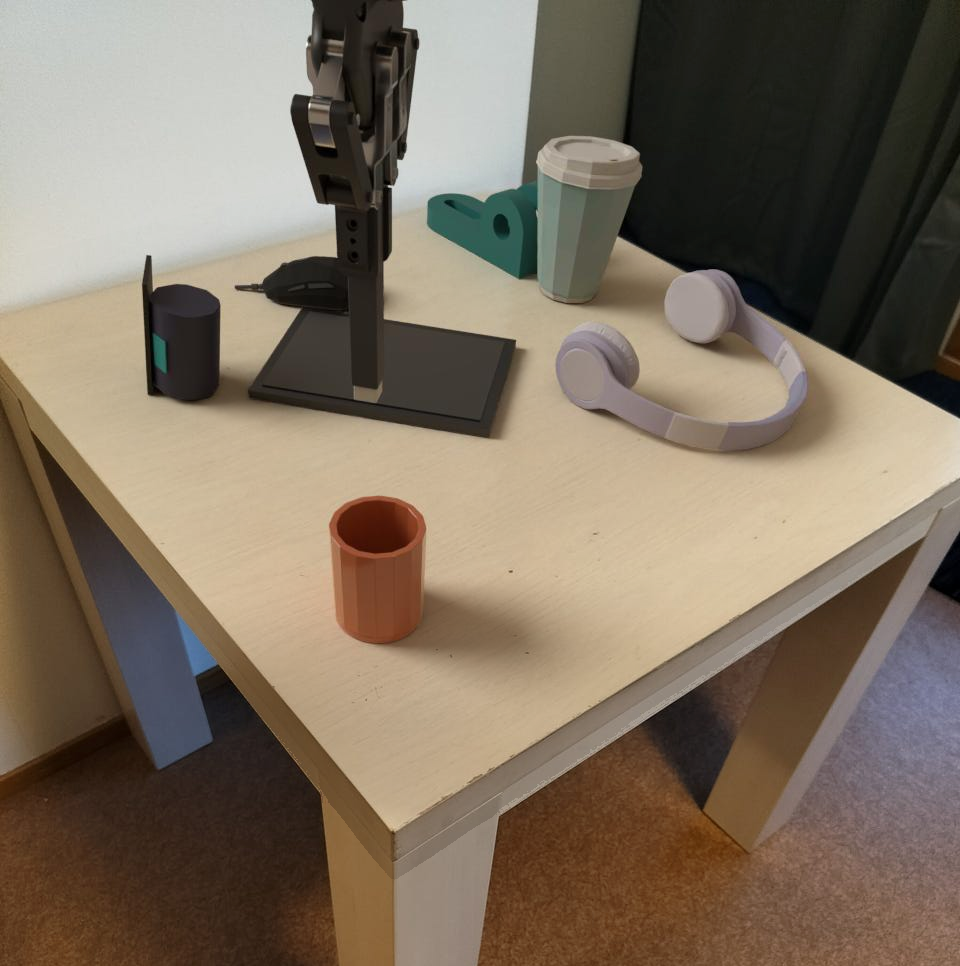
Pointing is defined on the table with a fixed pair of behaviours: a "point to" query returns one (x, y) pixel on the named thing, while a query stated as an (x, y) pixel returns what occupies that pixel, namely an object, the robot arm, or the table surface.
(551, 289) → the disposable coffee cup
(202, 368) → the speaker
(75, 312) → the table surface
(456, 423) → the tablet
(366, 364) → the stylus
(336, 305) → the gaming mouse
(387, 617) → the pen cup
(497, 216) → the bracket
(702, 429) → the headphones
